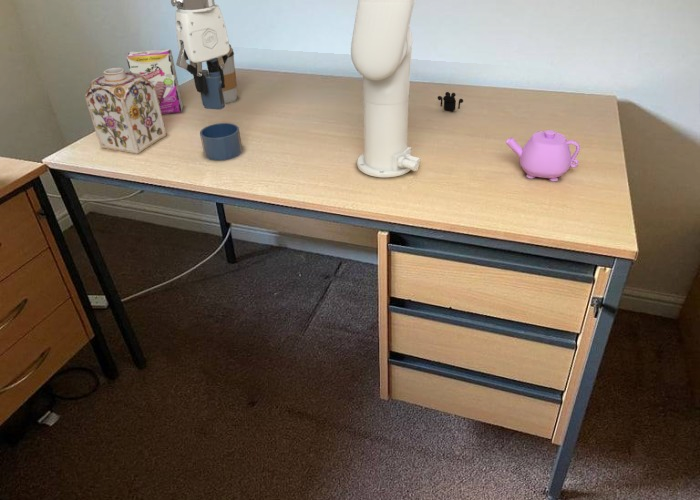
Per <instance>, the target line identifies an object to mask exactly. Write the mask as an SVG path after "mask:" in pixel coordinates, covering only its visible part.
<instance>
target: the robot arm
mask: <svg viewBox="0 0 700 500" xmlns="http://www.w3.org/2000/svg"><path fill="white" fill-rule="evenodd" d="M416 1H417V0H357V7H356V13H355V19H354V24H353V31H352V37H351V42H350V43H351V44H350V58H351V61H352V64H353V66H354V68H355V70H356V71H357V72H358V73H359V74H360V75H361V76H362V126H363V128H362V129H363V153H362V154H361V155H359V156H358V158H357V160H356V165H357V166H356V167H357V169H358V170H359V171H360V172H361V173H363V174H365V175H367V176H370V177H375V178H396V177H401V176H403V175H405V174H407V173H409V172H410V171H413V172H417V171H418V170H419V169H420V164H421V160H422V159H421V157H418V156H414V155H413V154H412V147H411V146H408V143H409V142H408V138H409V101H410V100H409V99H410V80H411V79H410V77H411V63H412V53H413V35H412V30H411V27H410V23H411V19H412V15H413V11H414V7H415V3H416ZM170 4H171V6H172V7H174V8H175V7H176V8H177V10H175V13H174V15H175V16H174V17H175V18H174V19H175V33H176V40H177V47H178V56H177V59H176V63H175V65H176V66H177V67H180V68H181V69H184V70H185V71H187V72H188V73H190V75H192V77H193V81H194V87H195V89H196V91H197V92H198V93H200V94H201V93H203V94H207V93H208V89H207V84H206V78H205V76H204V75H202V70H203V63H206V61H208V60H212V59H215V58H217V59H218V65H219V71H220V75H221V81H222V88H225V83H224V82H225V80H224V74H223V69H224V68H225V63H226V61H227V58H228V57H229V55H230V54H231V53H232V51H233V52H234V48H232V45H231V44H230V41H229V36H228V32H227V28H226V24H225V19H224V16H223V13H222V11H221V9H220V6H219V5H218V4H216V2H215V0H170ZM229 44H230V45H231V46H230V45H229ZM187 61H189V63H187Z"/></svg>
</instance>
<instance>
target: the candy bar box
mask: <svg viewBox="0 0 700 500" xmlns="http://www.w3.org/2000/svg"><path fill="white" fill-rule="evenodd" d="M125 58H126V62H127V65H128V69H129V72H132V73H139V74H141V75H142V76H143V77H144V78H146V79H147V80H148V81H150V82H151V83H152V84H153V85H154V87H155V91H156V95H157V98H158V102H159V106H160V110H161V114H162V115H169V114H179V113H180V114H181V113H183V109H184V104H183V99H182V93H181V89H180V86H179V81H178V75H177V72H176V66H175V62H174V56H173V52H172V49H171V48H168V49H167V48H166V49H164V48H163V49H153V50H152V49H151V50H138V51H137V50H136V51H129V52H128V54H127V55H126V57H125Z"/></svg>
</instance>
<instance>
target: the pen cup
mask: <svg viewBox="0 0 700 500" xmlns="http://www.w3.org/2000/svg"><path fill="white" fill-rule="evenodd" d="M199 137H200V141H201V146H202V150H203V155H204V157H205V158H206V159H208V160H211V161H220V162H221V161H227V160H228V161H229V160H232V159H235V158H237V157H238V156H240V155H241V154H242V152H243V145H242V138H241V132H240V127H239V126H238V125H237V124H234V123H231V122H220V123H214V124H209V125H206V126H205V127H202V128H201V130H200V131H199Z"/></svg>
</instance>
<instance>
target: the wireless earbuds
mask: <svg viewBox="0 0 700 500" xmlns="http://www.w3.org/2000/svg"><path fill="white" fill-rule="evenodd" d="M444 94H445V95H444V96H443V97H442V96H441V95H438V96H437V100H438V101H440V107H443V110H444V111H448V112H455V110H456V105H457V104H458V106H457V110H460V108H461V104H463V103H464V99H463V98H459V100H458V103H457V99H456V98H455V97H456V95H457V94H456V93H455V92H451V93H450V92H449V91H446V92H445V93H444Z"/></svg>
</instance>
